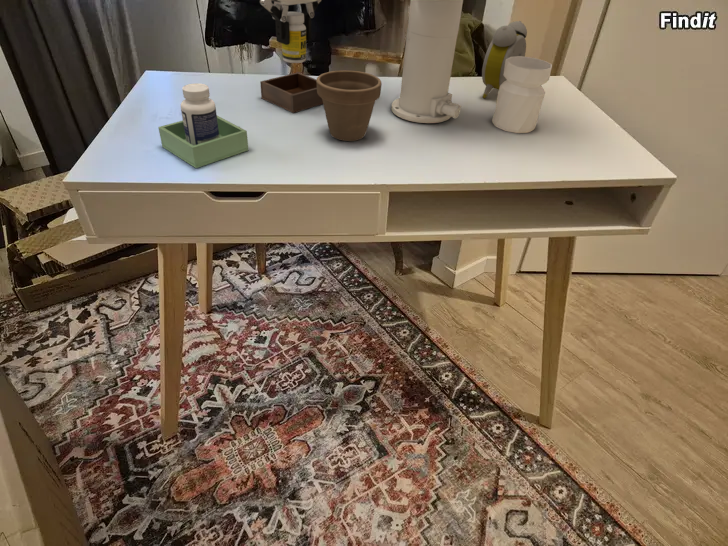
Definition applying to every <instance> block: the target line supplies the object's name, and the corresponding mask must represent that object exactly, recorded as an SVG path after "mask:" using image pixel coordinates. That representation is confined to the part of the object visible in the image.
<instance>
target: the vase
mask: <svg viewBox="0 0 728 546" xmlns="http://www.w3.org/2000/svg"><path fill="white" fill-rule="evenodd" d="M552 68H553V64H552V63H550V62H548V61H547V60H544V59H540V58H538V57H534V56H533V57H531V56H525V57H524V56H516V57H509V58H508V59H506V61H505V67H504V77H505V78H506V79H507V80H506V81H504V82H503V83H502V84H501V85H500V88H499V90H498V92H497V97H496V104H495V109H494V112H493V115H492V119H491V122H492V124H493V125H494V127H495V128H497V129H500V130H503V131H505V132H509V133H515V134H526V133H531V132H532V131H534V130H535V129H536V127H537V124H538V120H539V117H540V113H541V108H542V104H543V101H544V99H545V96H546V91H545V88H544V86H543V85H545V84H546V83H547V82H548V81H549V80H550V77H551V72H552V70H553V69H552Z"/></svg>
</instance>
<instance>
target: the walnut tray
mask: <svg viewBox="0 0 728 546" xmlns="http://www.w3.org/2000/svg"><path fill="white" fill-rule="evenodd" d="M316 80H317V78H314V77H311V76H308V75H306V74H304V73H301V72H297V71H296V72H294V73H289V74H284V75H281V76H277V77H273V78H269V79H264V80H262V81H259V82H260V84H259V85H260V96H261V97H260V98H261V99H262V100H264V101H266V102H269V103H271V104H273V105H275V106H277V107H280V108H281V109H283V110H286V111H288V112H290V113H292V114H295V113H298V112H301V111H304V110H307V109H311V108H315V107H318V106H320V105H323V101H322V98H321V97H320V96H319V95H318V93H317V83H316Z"/></svg>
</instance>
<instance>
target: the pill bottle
mask: <svg viewBox="0 0 728 546" xmlns="http://www.w3.org/2000/svg"><path fill="white" fill-rule="evenodd" d="M182 95H183V98H184V99H183V100H182V101H181V103H180V112H181V118H182V120H183V124H184V130H185V135H186V141H187V142H188V143H190V144H192V145H193V146H194V145H198V144H201V143H204V142H207V141H210V140H214V139H217V138H220V137H219V129H218V122H217V116H218V115H217V107H216V103H215V101H214V100H213V99H212V98H210V95H211V94H210V88H209V85H207V84H203V83H189V84H185V85H183V86H182Z"/></svg>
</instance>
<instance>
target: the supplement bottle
mask: <svg viewBox="0 0 728 546" xmlns="http://www.w3.org/2000/svg"><path fill="white" fill-rule="evenodd" d="M286 21H287V22H289V34H290V43H289V44H288V45H285V44H282V43H281V50H282V51H281V57H282V60H283V61H284V62H285V63H290V64H301V63H304V62H306V60H307V40H306V27H305V25H304V24H303V23H304V14H303V13H300V11H288V13H287V19H286Z"/></svg>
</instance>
